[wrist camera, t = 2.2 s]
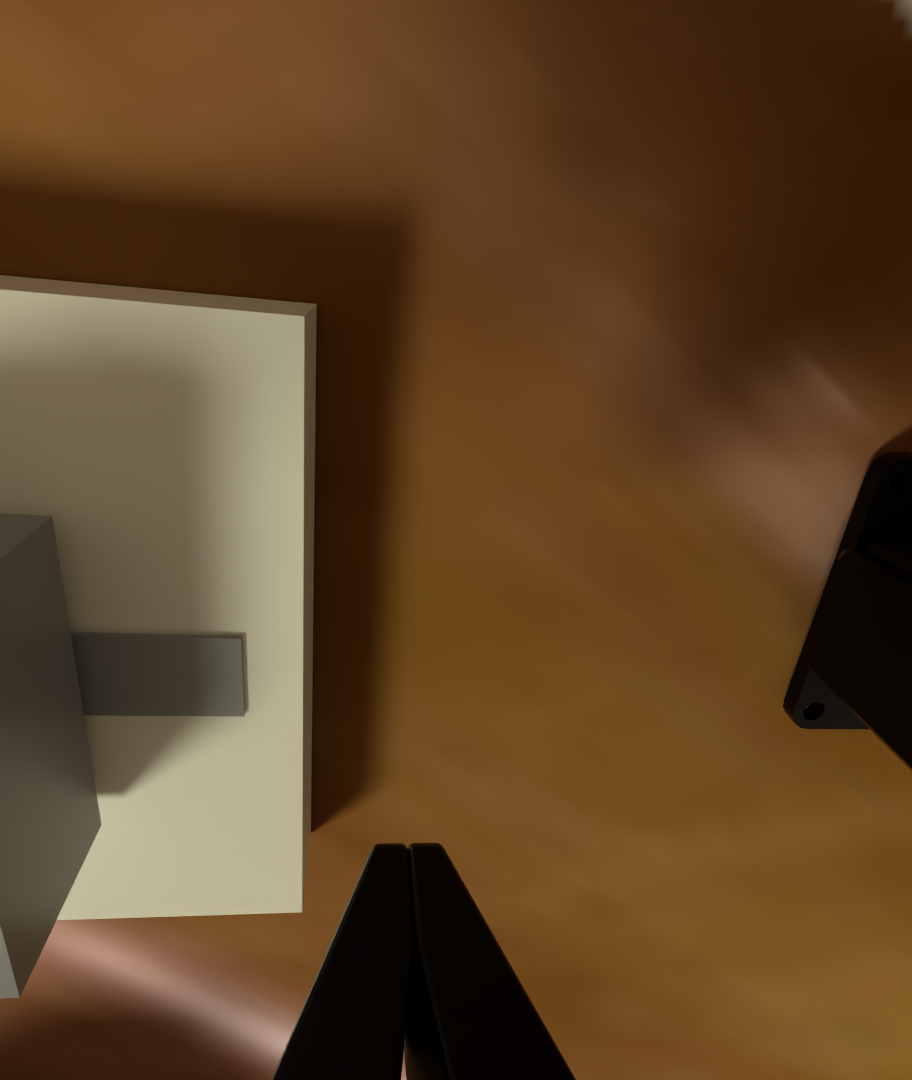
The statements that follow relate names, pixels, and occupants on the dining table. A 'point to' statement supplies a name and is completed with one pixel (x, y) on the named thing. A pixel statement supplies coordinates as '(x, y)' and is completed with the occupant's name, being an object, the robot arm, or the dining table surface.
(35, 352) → the dimmer console
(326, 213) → the dining table surface
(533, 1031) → the robot arm
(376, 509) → the dining table surface
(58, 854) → the fader cap
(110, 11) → the dining table surface
